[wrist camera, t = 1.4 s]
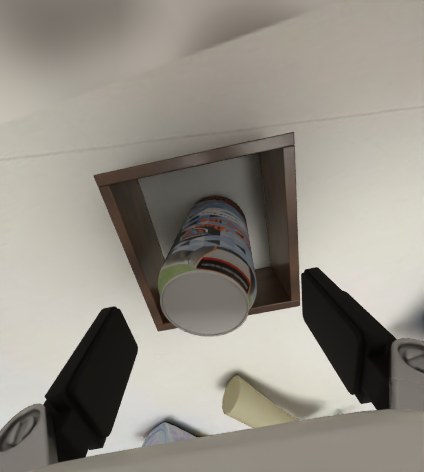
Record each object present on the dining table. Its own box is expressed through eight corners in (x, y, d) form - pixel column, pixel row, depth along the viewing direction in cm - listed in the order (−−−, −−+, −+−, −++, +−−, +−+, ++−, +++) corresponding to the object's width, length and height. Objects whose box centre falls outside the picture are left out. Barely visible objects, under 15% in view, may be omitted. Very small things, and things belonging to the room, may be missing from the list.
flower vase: (244, 329, 37) (396, 428, 38) (208, 384, 37) (361, 481, 38) (260, 373, 26) (481, 515, 26) (208, 453, 26) (430, 593, 26)
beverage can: (255, 217, 21) (310, 286, 10) (212, 264, 23) (219, 366, 12) (208, 179, 20) (214, 213, 8) (167, 234, 22) (127, 319, 10)
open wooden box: (125, 169, 19) (92, 175, 13) (267, 138, 18) (294, 131, 13) (168, 291, 24) (157, 331, 19) (278, 270, 24) (300, 306, 18)
